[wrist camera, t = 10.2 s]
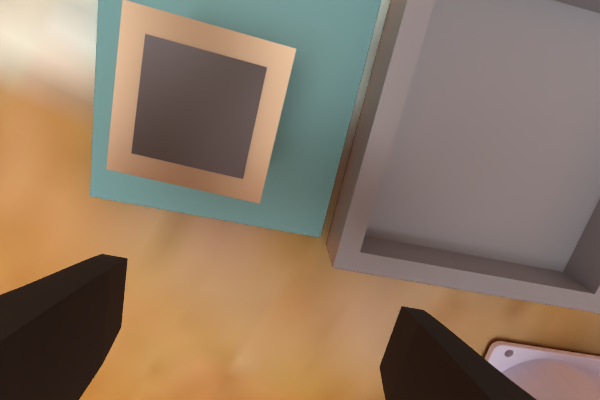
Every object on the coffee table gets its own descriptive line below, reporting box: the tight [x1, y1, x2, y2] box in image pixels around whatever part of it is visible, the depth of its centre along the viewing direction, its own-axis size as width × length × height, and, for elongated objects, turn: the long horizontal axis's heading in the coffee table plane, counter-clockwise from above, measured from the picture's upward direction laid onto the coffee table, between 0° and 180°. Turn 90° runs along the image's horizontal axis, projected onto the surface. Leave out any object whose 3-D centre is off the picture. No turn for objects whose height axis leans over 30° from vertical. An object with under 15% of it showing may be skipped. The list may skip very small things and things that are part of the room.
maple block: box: [106, 0, 296, 204], centre depth 13 cm, size 4×4×6 cm
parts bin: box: [326, 0, 600, 314], centre depth 16 cm, size 14×14×2 cm
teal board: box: [90, 0, 381, 238], centre depth 16 cm, size 11×11×1 cm
